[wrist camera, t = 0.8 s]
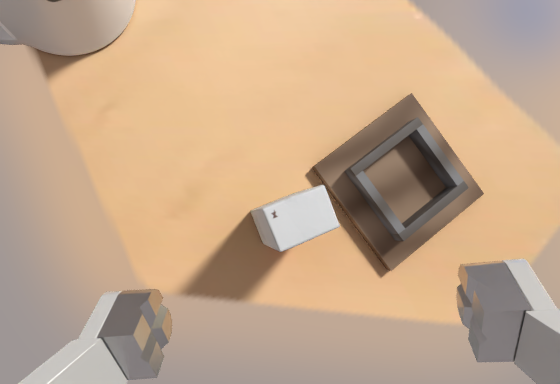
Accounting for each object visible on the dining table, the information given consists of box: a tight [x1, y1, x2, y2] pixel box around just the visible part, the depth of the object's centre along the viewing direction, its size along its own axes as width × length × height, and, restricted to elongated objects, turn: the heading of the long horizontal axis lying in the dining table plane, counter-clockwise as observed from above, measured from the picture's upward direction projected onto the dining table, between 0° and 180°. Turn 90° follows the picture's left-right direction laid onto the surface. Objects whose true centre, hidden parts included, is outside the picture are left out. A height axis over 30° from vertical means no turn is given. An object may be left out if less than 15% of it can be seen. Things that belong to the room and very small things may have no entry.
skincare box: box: [250, 185, 340, 252], centre depth 42 cm, size 6×4×12 cm
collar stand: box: [312, 93, 484, 271], centre depth 49 cm, size 15×15×4 cm
